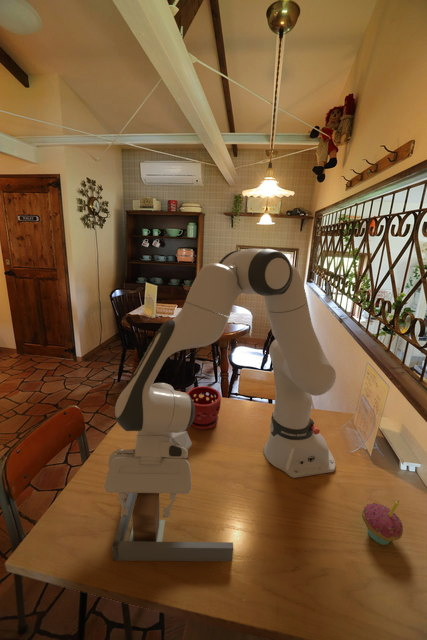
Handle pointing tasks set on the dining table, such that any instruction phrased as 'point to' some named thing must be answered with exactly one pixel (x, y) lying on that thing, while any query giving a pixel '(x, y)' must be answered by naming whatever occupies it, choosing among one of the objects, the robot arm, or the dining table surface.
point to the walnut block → (146, 517)
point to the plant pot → (205, 407)
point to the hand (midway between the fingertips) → (145, 516)
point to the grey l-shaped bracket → (165, 545)
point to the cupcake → (382, 523)
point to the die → (181, 439)
